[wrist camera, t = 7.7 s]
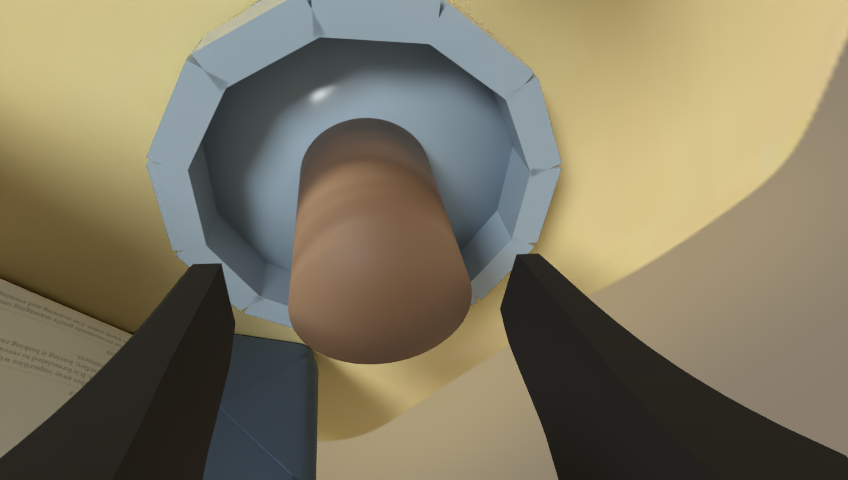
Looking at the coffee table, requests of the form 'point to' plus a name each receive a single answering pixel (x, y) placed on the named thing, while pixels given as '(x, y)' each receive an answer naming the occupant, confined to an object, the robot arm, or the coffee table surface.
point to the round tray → (340, 101)
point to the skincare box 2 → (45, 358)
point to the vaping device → (266, 414)
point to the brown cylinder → (373, 248)
